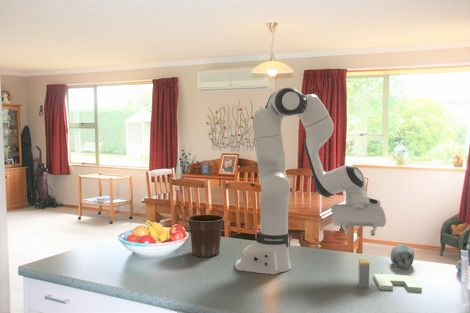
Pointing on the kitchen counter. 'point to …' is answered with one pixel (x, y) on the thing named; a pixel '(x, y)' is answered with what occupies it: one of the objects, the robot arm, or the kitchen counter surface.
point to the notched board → (397, 282)
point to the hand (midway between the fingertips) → (360, 234)
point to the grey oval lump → (402, 256)
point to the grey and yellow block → (363, 273)
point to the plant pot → (205, 234)
